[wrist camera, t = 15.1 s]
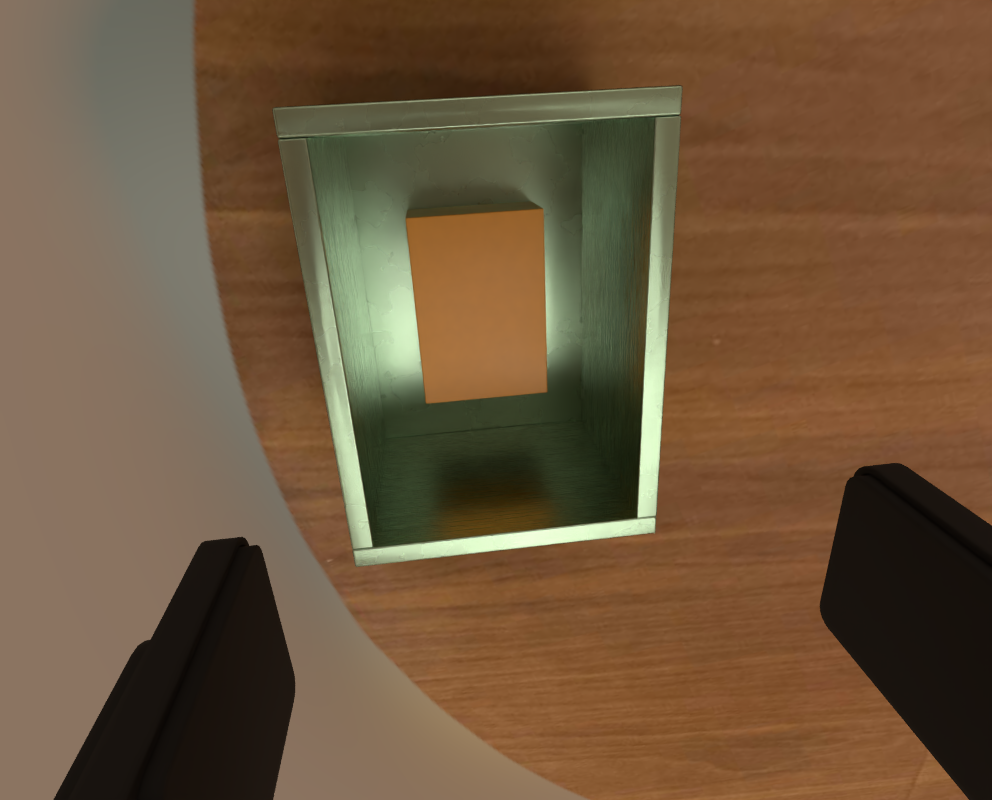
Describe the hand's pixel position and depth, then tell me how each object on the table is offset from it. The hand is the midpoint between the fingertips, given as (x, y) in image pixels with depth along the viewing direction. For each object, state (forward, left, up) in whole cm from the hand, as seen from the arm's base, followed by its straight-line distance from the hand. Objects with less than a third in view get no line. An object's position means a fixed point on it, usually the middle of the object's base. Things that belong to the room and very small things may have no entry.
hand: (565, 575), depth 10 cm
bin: (0, 0, -21) cm, 21 cm away
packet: (0, 0, -20) cm, 20 cm away
